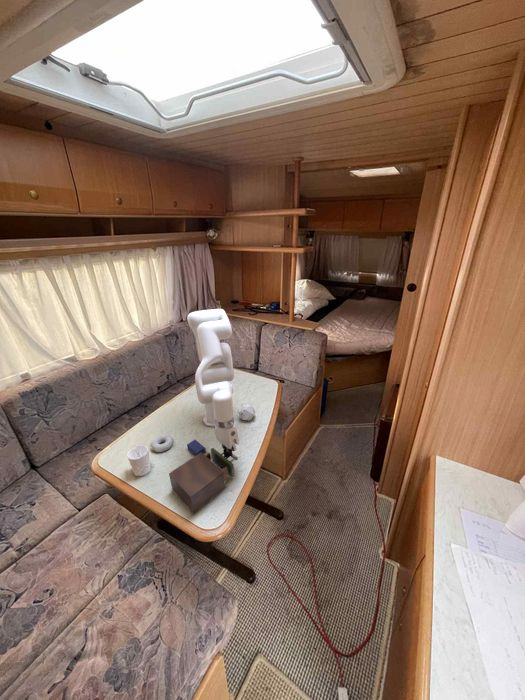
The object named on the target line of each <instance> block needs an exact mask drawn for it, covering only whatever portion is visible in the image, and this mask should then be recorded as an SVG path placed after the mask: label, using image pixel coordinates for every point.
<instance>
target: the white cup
mask: <svg viewBox="0 0 525 700" xmlns="http://www.w3.org/2000/svg"><path fill="white" fill-rule="evenodd" d="M126 457H127V459H128V462H129V464H130V467H131V470H132V472H133V474H134V475H135V476H137V477H143V476H145V475H147V474H148V473H149V472H150V471H151V467H152V466H151V459H150V454H149V449H148V446H146V445H143V444H141V445H136V446H134V447H132V448H130V449H129V451H128V452H127V455H126Z"/></svg>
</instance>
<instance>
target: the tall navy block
mask: <svg viewBox="0 0 525 700" xmlns="http://www.w3.org/2000/svg"><path fill="white" fill-rule="evenodd" d="M186 446H187V450H188V451H189V452H190V453H191V454H192V455H194V457H195V456H196V455H198V454H199V453H201V452H202V453H203V454H204V455H205V454H207V453H206V447H205V446H204V445H203V444H201V443H200V441H198V440H197V439H193V440H191V441H190V442H188V443H186Z"/></svg>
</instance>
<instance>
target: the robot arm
mask: <svg viewBox="0 0 525 700" xmlns="http://www.w3.org/2000/svg"><path fill="white" fill-rule="evenodd" d="M187 323H188V326H189V328H190V330H191V331H192V334H193V335H194V337H195V342H196V350H197V354H198V359H199V365H198V367H197V368H196V371H195V375H194V384H195V389H196V390H195V391H196V396H197V400H198V402H200V404H203V405H204V411H205V415H204V416H203V419H202V420H203V423H204V425H206V426H207V427H211V428H214V433H215V434H214V435H215V438H216V440H217V441H218V442H219V443H220V444H221V448H222V453H223V452H224V454H223V456H224V457H225V458H226V459H229V458H230V457H231V456H232V453H233V452H236V451H237V446H238V445H239V444H240V440H239V439H240V438H239V432H238V429H237V428H238V427H237V425H236V423H235V415H234V404H233V394H234V393H233V392H234V389H233V385H232V384H231V382H232V381H233V380H234V379H235V370H234V363H233V355H232V349H231V346H230V345H229V344H228V343H227V342H221V340H228V339H230V338H231V337H232V336H233V328H232V323H231V321H230V319H229V317H228V315H227V313H226V311H225V310H224V309H223V308H213V309H203V310H195V311H192V312H190V313H188V314H187ZM217 363H220V364H217ZM236 445H237V446H236Z"/></svg>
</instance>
